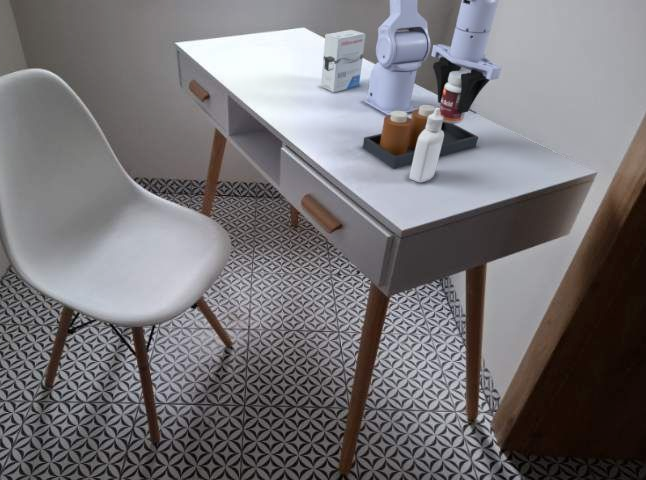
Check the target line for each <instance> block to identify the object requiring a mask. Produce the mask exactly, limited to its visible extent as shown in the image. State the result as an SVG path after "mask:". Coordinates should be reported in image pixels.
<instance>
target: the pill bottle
mask: <svg viewBox="0 0 646 480" xmlns="http://www.w3.org/2000/svg"><path fill="white" fill-rule="evenodd" d="M465 73H469V72H467V71H463V70H460V71H452V72H450V74H449V78H448V82H447V83H446V84H445V86H444V90H443V94H442V98H441V102H440V103H439V107H438V108H440V115H441V116H442V117H443V122H445V123H450V124H455V125H457V124H461V123H462V122H463V121H464V118H465V117H464V116H465V114H466V112H465V113H459V112H458V104H459V100H460V95H461V74H465Z"/></svg>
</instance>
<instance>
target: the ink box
mask: <svg viewBox="0 0 646 480" xmlns="http://www.w3.org/2000/svg"><path fill="white" fill-rule="evenodd" d="M365 42H366V33H364V32H362V31H357V30H354V29H347V30H342V31H337V32H332V33H326V34H324V44H323V45H324V47H323V58H322V59H323V60H322V70H321V71H322V72H321V81H320V87H321V88H323V89H326V90H328V91H330V92H332V93H337V92H341V91H345V90H349V89H353V88H355V87H359V86H360V81H361V74H362V73H361V72H362V65H363V57H364V51H365Z"/></svg>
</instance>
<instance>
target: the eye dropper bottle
mask: <svg viewBox="0 0 646 480" xmlns="http://www.w3.org/2000/svg"><path fill="white" fill-rule="evenodd" d="M442 122H443V117H442V116H441V115H440V108H439V107H435V111H434V113H433V114H431V115H429V116H428V119H427V123H426V129H424V130H423V131H422V132H421V134H420V135H419V137H418V140H417V144H416V148H415V153H414V157H413V162H412V164H411V167H410V171H409V176H408V177H409V179H410V180H411V181H414V182H416V183H419V184H420V183H425V182H428V181H429V180H432V179H433V177H434V176H435V173H436V170H437V166H438V161H439V159H440V156H439V155H440V151H441V147H442V143H443V138H444V132H443V131H442V130H441V126H442Z"/></svg>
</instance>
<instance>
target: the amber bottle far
mask: <svg viewBox="0 0 646 480" xmlns="http://www.w3.org/2000/svg"><path fill="white" fill-rule="evenodd" d="M412 123H413V121H412V120H411V117H408V113H406V112H404V111H393V112H392V113H391V115H386V116H384V118H383V123H382V129H381V133H380V134H381V140H380V146H381V147H383V148H384V149H386V150H387V151H389V152H391V153H392V154H394V155H395V156H398V155H402V154H406V151H407V147H408V142H409V137H410V132H411V127H412Z"/></svg>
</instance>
